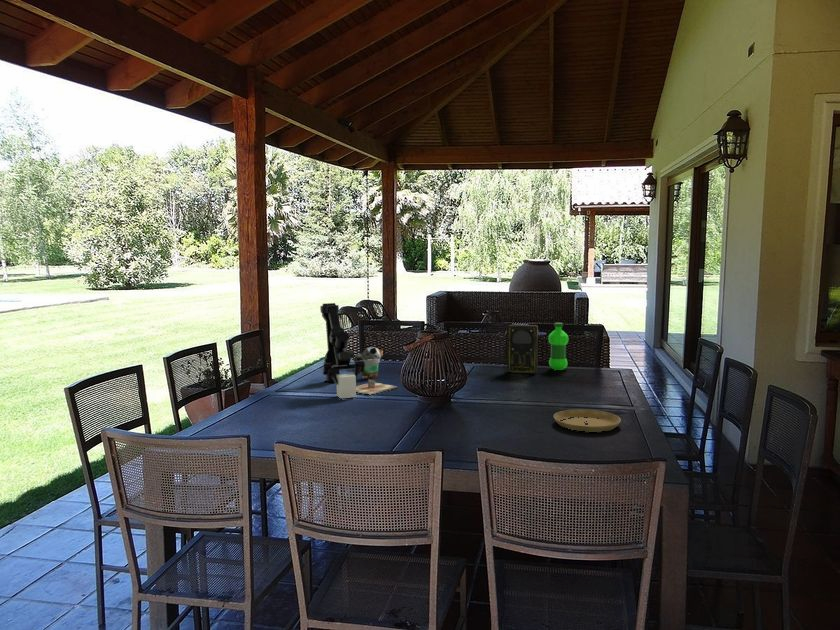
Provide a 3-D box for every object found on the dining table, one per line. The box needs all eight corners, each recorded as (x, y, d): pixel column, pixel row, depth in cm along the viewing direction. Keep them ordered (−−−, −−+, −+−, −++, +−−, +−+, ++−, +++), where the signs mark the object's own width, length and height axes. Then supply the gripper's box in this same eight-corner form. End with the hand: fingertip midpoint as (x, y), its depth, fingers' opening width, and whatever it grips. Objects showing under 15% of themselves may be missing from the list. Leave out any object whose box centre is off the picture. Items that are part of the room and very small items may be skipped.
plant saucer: (571, 413, 251) (571, 405, 251) (630, 423, 236) (631, 415, 236) (541, 427, 233) (541, 418, 232) (604, 439, 218) (604, 430, 217)
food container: (369, 381, 316) (368, 361, 315) (360, 379, 320) (359, 360, 319) (385, 376, 326) (384, 357, 325) (376, 375, 329) (375, 356, 328)
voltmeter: (506, 373, 329) (506, 325, 326) (509, 370, 337) (509, 323, 335) (536, 374, 325) (537, 326, 322) (538, 371, 333) (539, 324, 330)
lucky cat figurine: (367, 363, 362) (378, 342, 360) (379, 374, 355) (390, 353, 352) (348, 359, 351) (359, 338, 349) (360, 370, 344) (371, 348, 341)
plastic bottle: (544, 368, 339) (545, 322, 337) (562, 367, 343) (562, 321, 340) (554, 372, 330) (554, 324, 327) (571, 370, 333) (572, 323, 330)
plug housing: (339, 399, 279) (339, 377, 277) (336, 395, 286) (336, 374, 284) (356, 398, 281) (355, 376, 280) (352, 394, 288) (352, 372, 287)
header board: (345, 390, 295) (345, 381, 295) (372, 384, 309) (372, 375, 308) (370, 395, 285) (369, 386, 284) (397, 388, 298) (396, 379, 298)
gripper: (322, 345, 281) (327, 374, 272) (363, 343, 287) (369, 371, 278) (320, 360, 290) (325, 388, 281) (360, 357, 295) (366, 385, 286)
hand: (346, 383), depth 281 cm, fingers open, 8 cm apart
